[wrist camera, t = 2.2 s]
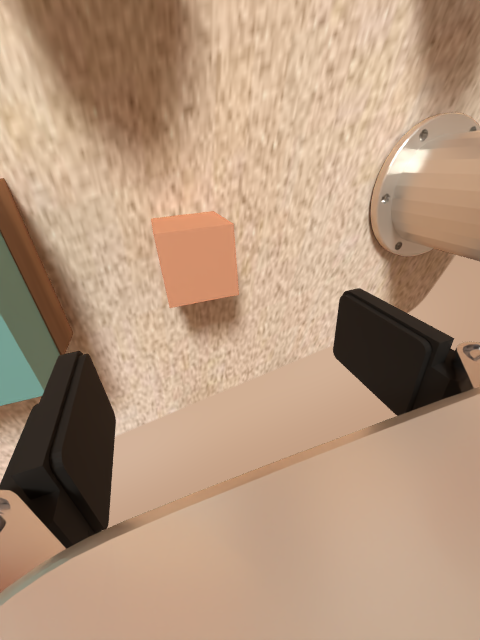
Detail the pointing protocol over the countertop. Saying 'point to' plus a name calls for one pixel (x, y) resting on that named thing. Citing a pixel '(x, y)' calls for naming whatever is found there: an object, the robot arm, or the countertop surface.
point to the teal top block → (21, 337)
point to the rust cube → (196, 257)
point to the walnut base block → (32, 270)
